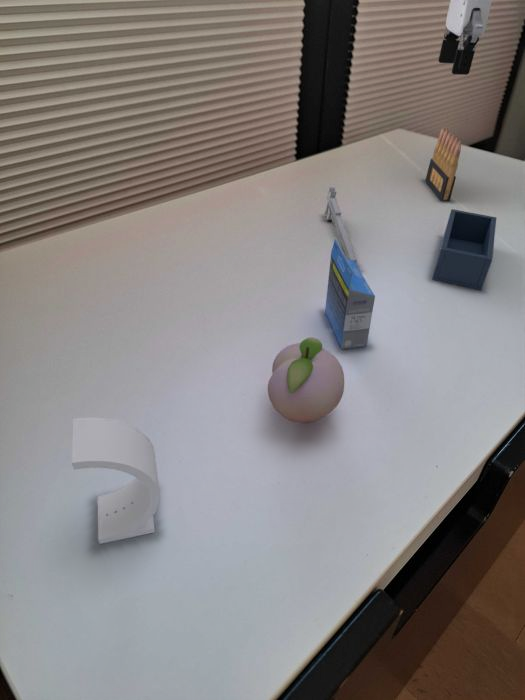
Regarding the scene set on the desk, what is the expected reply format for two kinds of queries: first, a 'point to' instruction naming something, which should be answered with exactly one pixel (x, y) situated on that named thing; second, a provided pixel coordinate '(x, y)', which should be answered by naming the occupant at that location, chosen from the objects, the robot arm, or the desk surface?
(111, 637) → the desk surface
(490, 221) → the desk tidy
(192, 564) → the desk surface
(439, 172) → the ammunition clip
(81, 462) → the headphone stand
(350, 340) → the label tape box
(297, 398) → the decorative fruit
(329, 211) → the caliper
